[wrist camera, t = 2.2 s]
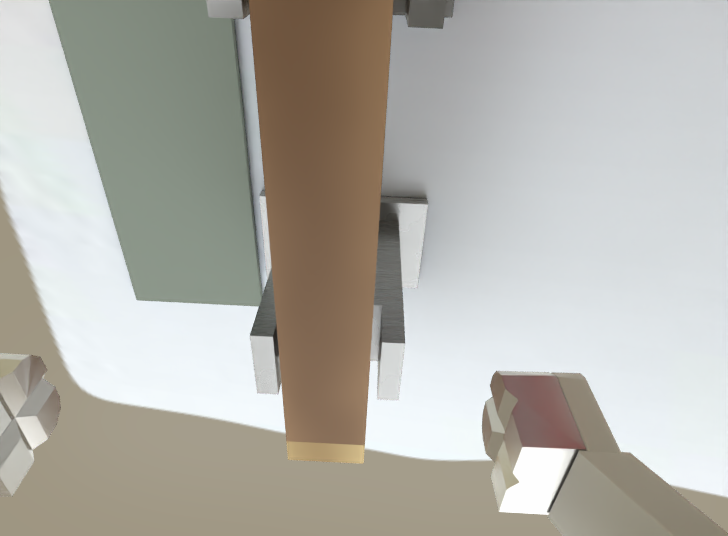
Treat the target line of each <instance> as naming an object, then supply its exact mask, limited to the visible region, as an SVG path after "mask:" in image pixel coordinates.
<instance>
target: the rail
mask: <svg viewBox="0 0 728 536" xmlns="http://www.w3.org/2000/svg"><path fill="white" fill-rule="evenodd" d="M249 9H250V21H251V33H252V44H253V56H254V68H255V79H256V91H257V103H258V114H259V126H260V138H261V149H262V161H263V173H264V184H265V196H266V208H267V219H268V231H269V243H270V254H271V266H272V278H273V289H274V301H275V313H276V324H277V336H278V348H279V359H280V371H281V383H282V394H283V406H284V418H285V429H286V441H287V452H288V460H304V461H322V462H343V463H363V461H364V447H365V432H366V416H367V401H368V386H369V370H370V355H371V339H372V324H373V308H374V293H375V278H376V262H377V247H378V231H379V216H380V200H381V185H382V169H383V154H384V139H385V123H386V108H387V92H388V77H389V61H390V46H391V31H392V15H393V0H249Z"/></svg>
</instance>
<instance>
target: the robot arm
mask: <svg viewBox="0 0 728 536" xmlns="http://www.w3.org/2000/svg"><path fill="white" fill-rule="evenodd" d="M46 372H47V368H46V366H45V365H44V363H43V361H42V359H41V357H38V356H33V355H22V354H21V355H20V354H5V353H0V496H13V494H14V493H15V491H16V490H17V488H18V486H19V485H20V483H21V482H22V480H23V478H24V477H25V475H26V473H27V472H28V470H29V469H30V467H31V466H32V464H33V462H34V456H33V449H34V448H35V447H37V446H38V445H40V444H41V443H43V442H44V441H46V440H47V439H48V438H49V437H50V435H51V433H52V431H53V430H54V428H55V426H56V425H57V421H58V417H59V412H60V408H61V407H60V396H59V394H58V392H57V390H56V387H55V386H53V385H52V384H50V383H49V382H48V381H46V380H45V379H43V377H44V375H45V373H46ZM490 387H491V391H492V395H493V397H491V398H490V399H489V400H487V401H486V402H485V406H484V411H483V419H482V433H483V441H484V446H485V451H486V454H487V455H488V456H489V457H490V458H491V459H492V460H493V461H494V462H495V464H494V467H493V470H492V474H491V479H492V483H493V487H494V492H495V496H496V501H497V505H498V509H499V512H514V513H531V514H532V513H533V514H548V518H549V520H550V521H551V522H552V523H553V524H554V526H555V527H556V528H557V529H558V530H559V532H560V533H561V534H562V535H563V536H728V533H727V532H726V531H725V530H724V529H723V528H721V527H720V526H719V525H718V524H717V523H715V522H714V521H713V520H712V519H710V518H709V517H708V516H707V515H705V514H704V513H703V512H702V511H701V510H699V509H698V508H697V507H696V506H694V505H693V504H692V503H691V502H690V501H688V500H687V499H686V498H685V497H684V496H682V495H681V494H680V493H679V492H677V491H676V490H675V489H674V488H673V487H671V486H670V485H669V484H668V483H666V482H665V481H664V480H663V479H662V478H660V477H659V476H658V475H657V474H655V473H654V472H653V471H652V470H651V469H649V468H648V467H647V466H646V465H644V464H643V463H642V462H641V461H640V460H638V459H637V458H636V457H635V456H634V455H632V454H631V453H628V452H621V451H620V449H619V447H618V445H617V443H616V441H615V438H614V436H613V434H612V432H611V430H610V428H609V426H608V424H607V422H606V420H605V418H604V416H603V414H602V412H601V409H600V407H599V405H598V403H597V401H596V399H595V397H594V395H593V393H592V391H591V389H590V387H589V385H588V383H587V380H586V378H585V377H584V376H583V375H582V374H580V373H549V372H517V371H496V372H495V374H494V375H493V377H492V380H491V384H490Z"/></svg>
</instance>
